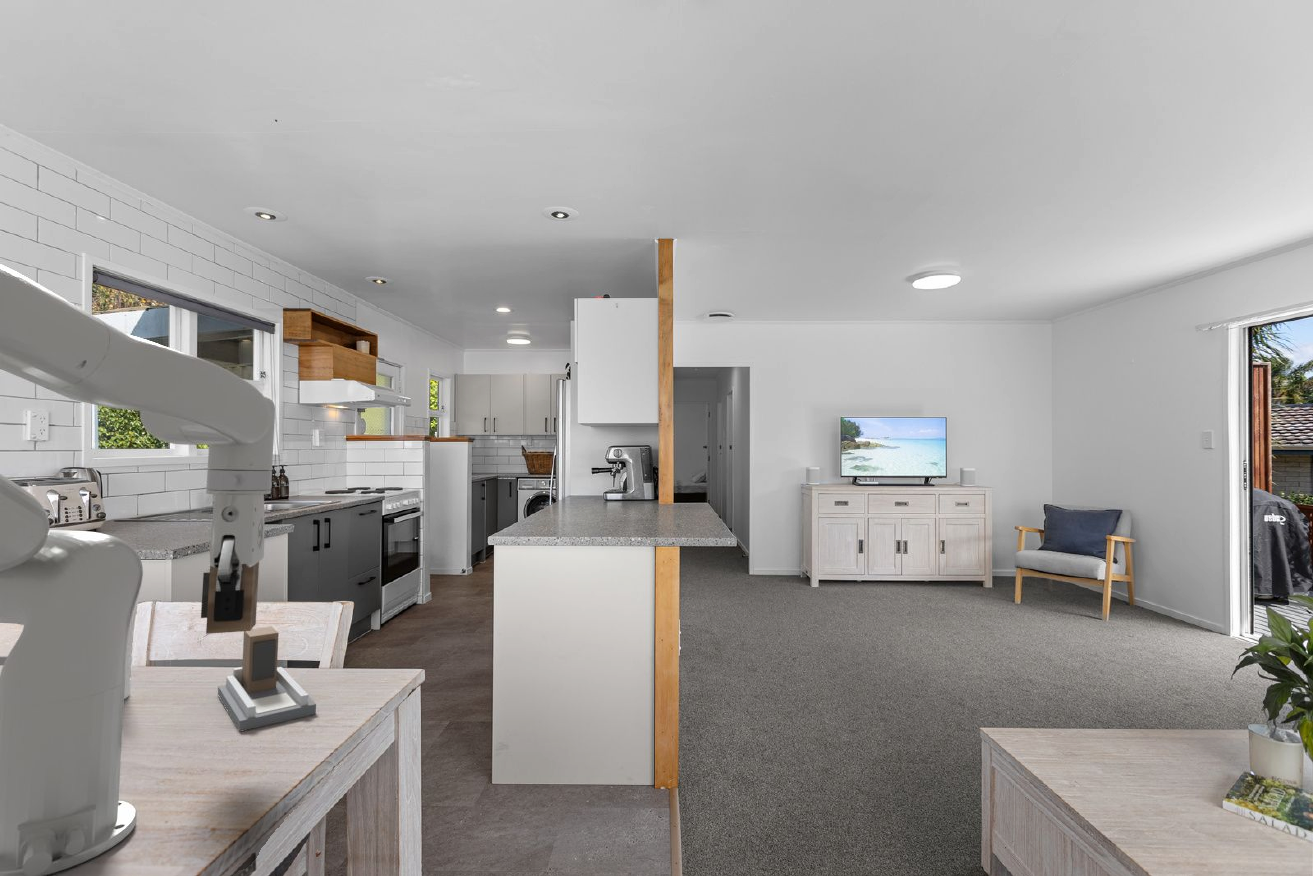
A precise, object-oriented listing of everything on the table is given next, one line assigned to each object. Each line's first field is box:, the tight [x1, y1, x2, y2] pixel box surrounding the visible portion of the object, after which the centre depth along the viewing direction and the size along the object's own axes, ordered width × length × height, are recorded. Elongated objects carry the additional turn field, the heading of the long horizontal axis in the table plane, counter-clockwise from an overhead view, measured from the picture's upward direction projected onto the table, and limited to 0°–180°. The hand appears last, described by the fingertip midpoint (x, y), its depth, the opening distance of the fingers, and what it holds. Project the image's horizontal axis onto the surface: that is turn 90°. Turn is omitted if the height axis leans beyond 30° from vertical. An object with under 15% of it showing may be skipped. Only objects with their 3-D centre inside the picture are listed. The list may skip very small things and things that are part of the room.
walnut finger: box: [200, 561, 260, 635], centre depth 87 cm, size 4×6×9 cm
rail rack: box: [217, 626, 317, 732], centre depth 101 cm, size 18×10×10 cm, turn 43°
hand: (232, 615), depth 87 cm, fingers closed on walnut finger, 4 cm apart
